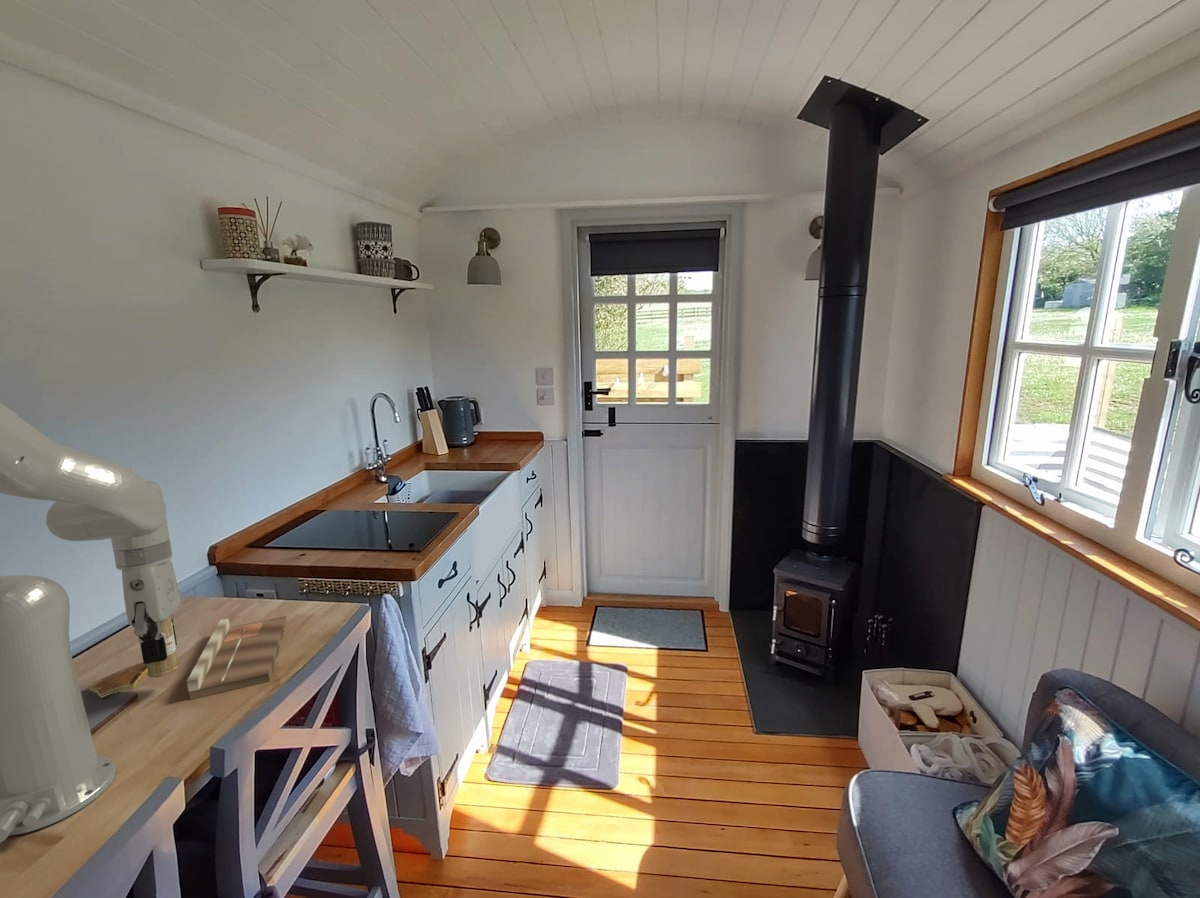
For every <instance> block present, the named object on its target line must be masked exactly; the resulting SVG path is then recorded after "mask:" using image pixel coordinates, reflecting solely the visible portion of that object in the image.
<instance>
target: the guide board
mask: <svg viewBox="0 0 1200 898" xmlns="http://www.w3.org/2000/svg"><path fill="white" fill-rule="evenodd" d="M286 620H287V621H288V619H287V616H286V615H285V616H280V617H274V618H270V619H265V620H260V621H259V620H258V621H254V622H250V623H249V622H248V623H243V624H238V625H233V626H231V625H230V623H231V622H230V620H229V618H223V619H219V621H218V623H217V625H216V627H215V629H214V630H213V632H212V634H211V636H210V638H209V639H208V641H207V643H206V645H205V647H204V648H203V651H202V652H201V654H200V656H199V657H198V660H197V661H196V664H195V666H194V667H193V669H192V670H191V673H190V675H189V676H188V678H187V679H186V684H187V689H188V695H189V699H190V700H194V699H199V698H204V697H207V696H211V695H216V694H220V693H224V692H228V691H234V690H236V689H242V688H245V687H247V688H248V687H251V686H254V685H258V684H259V685H260V684H263V683H268V682H270V681H271V677H272V674H273V671H274V669H275V664H276V660H277V657H278V654H279V651H280V648H281V645H280V644H282V641H283V638H282V636H283V637H284V634H283V632H284V633H285V631H284V628H285V624H286ZM286 625H287V624H286ZM285 629H286V628H285ZM281 640H282V641H281Z"/></svg>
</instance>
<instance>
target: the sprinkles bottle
mask: <svg viewBox="0 0 1200 898" xmlns="http://www.w3.org/2000/svg"><path fill="white" fill-rule="evenodd" d="M151 621H153V620H152V618H151V619H147V622H151ZM172 625H173V624H172V622H171V617H170V616H169V617H168V618H167V619H166V620H165V621H164V622H160V627H161V637H164V639H165V645H166V651H167V659H166V660H164V661H159V662H154V663H149V664H147V670H148V673H147V674H146V675H147V676H148V678H159V677H164V676H167V675H169V674H170V675H171V674H172V673H174V672H176V671H177V670H178V669H179V668H180V663H179V661H178V655H177V654H178V653H177V645H176V644H175V638H174V632H173V626H172ZM147 627H148V629H150V628H152V629H153V630H154V625H153V626H147Z"/></svg>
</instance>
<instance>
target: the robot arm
mask: <svg viewBox="0 0 1200 898" xmlns="http://www.w3.org/2000/svg"><path fill="white" fill-rule="evenodd" d="M0 494H4V495H8V496H13V497H19V498H26V499H30V500H31V499H32V500H39V501H40V500H41V501H53V502H54V503H52V505H51V506H50V508H49V509H48V510H47V512H46V516H45V524H46V527H47V529H48V531H49V532H50V533H51V534H52V535H54V536H55V537H56V538H59V539H61V540H65V541H70V542H86V541H101V540H111V546H112V551H113V552H112V553H113V557H114V563H115V568H116V570H119V571H121V577H122V579H121V580H122V591H123V600H124V606H125V612H126V617H127V623H128V625H130V626H131V627H133V628H134V629H133V633H134V635H135V636H137V637H138V643H139V645H140V651H141V654H142V655H141V656H142V662H144V663H145V664H149V663H154V662H159V661H164V660H166V659H167V651H166V645H165V639H164V637H161V627H160V622H164V621H165V620H166V619H167V618H168V617H169V616H170V617H171V622H172V626H173V632H174V638H175V644H176V646H177V645H178V643H177V636H176V629H175V626H174V617H173V613H174V612H175V611H176V609H177V608H178V607H179V605H180V604H181V595H180V590H179V586H178V582H177V577H176V572H175V569H174V566H173V562H172V558H173V551H172V545H171V539H170V534H169V528H168V527H169V526H168V521H167V508H166V507H167V506H166V503H165V501H164V497H163V492H162V489H161V486H160V485H159V484H158V483H157V482H156V481H152V480H151V481H150V480H145V479H144V478H143V477H141V475H139V474H138V473H137V472H135V471H133V470H132V469H129V468H128V467H126V466H124V465H121V464H119V463H117V462H114V461H110V460H108V459H105V458H103V457H99V456H96V455H94V454H90V453H87V452H85V451H82V450H79V449H76V448H73V447H69V446H66V445H62V444H59V443H56V442H55V441H53V440H52V439H50V438H49V437H48V436H46V435H45V434H44V433H42V432H41V431H40V430H38V429H37V428H35V427H34V426H32V425H31V424H30V423H29V422H28V421H26V420H24V419H23V418H22V417H20V416H19V415H18V414H17V413H15V412H14V411H13V410H11V409H10V408H8V407H7V406H6V405H4V404H3V403H2V402H0ZM70 609H71V605H70V599H69V595H68V592H67V590H66V589H65V588H64V587H63V586H62V585H61V584H60V583H58V582H57V581H55V580H53V579H51V578H47V577H43V576H39V575H27V574H26V575H24V574H23V575H22V574H21V575H18V574H17V575H3V576H0V843H2V842H4V841H5V840H6V839H7V838H8V837H9V836H17V835H22V834H27V833H30V832H31V833H32V832H33V831H37V830H39V829H43V828H45V827H47V826H50V825H53V824H55V823H57V822H59V821H62V820H63V819H65V818H68V817H69V816H71V815H73V814H74V813H76V812H79V811H80V810H81V809H83V808H84V807H86V806H87V805H89V804H90V803H91V802H92V801H94V800H95V799H97V798H98V797H99V796H100V795H101V794H103V792H104V791H105V790H106V789H107V788H108V787H109V786H110V785H111V783H112V782H113V780H114V779H115V776H116V774H117V773H116V772H117V771H116V765H115V763H114V761H113V760H112V759H111V758H109V757H106V756H100V755H97V753H96V748H95V744H94V740H93V735H92V733H91V728H90V724H89V721H88V716H87V712H86V709H85V704H84V700H83V695H82V691H81V689H80V685H79V680H78V676H77V673H76V670H75V668H76V667H75V665H74V660H73V656H72V650H71V648H72V647H71V642H70V617H71V616H70V613H71V612H70V611H71V610H70ZM151 618H152V620H153V621H151V622H147V619H151ZM153 625H154V630H153V629H152V628H150V629H148V627H147V626H153Z"/></svg>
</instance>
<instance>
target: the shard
mask: <svg viewBox="0 0 1200 898" xmlns="http://www.w3.org/2000/svg"><path fill="white" fill-rule="evenodd" d="M147 673H148V670H147V664H145V663H144V662H143V661H141V662H139V663H136V664H133V665H131V666H129V667H126V668H123V669H121V670H117V671H116V672H113V673H112V674H110V675H107V676H105V677H103V678H100V679H98V680H96V681H93V682H91V683H90V684H89V685H88V689H89V691H90V692H92V691H93V692H95V693H98V695H100V696H101V697H102V696H104V695H106V694H109V693H115V692H120V693H122V692H123V693H124V692H127V691H133V690H134V688H135V687H136V686H137V684H138V682H140V680H141V679H142V678H143V677H145V676H146V675H147ZM93 692H92V693H93ZM95 693H94V694H95Z"/></svg>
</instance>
